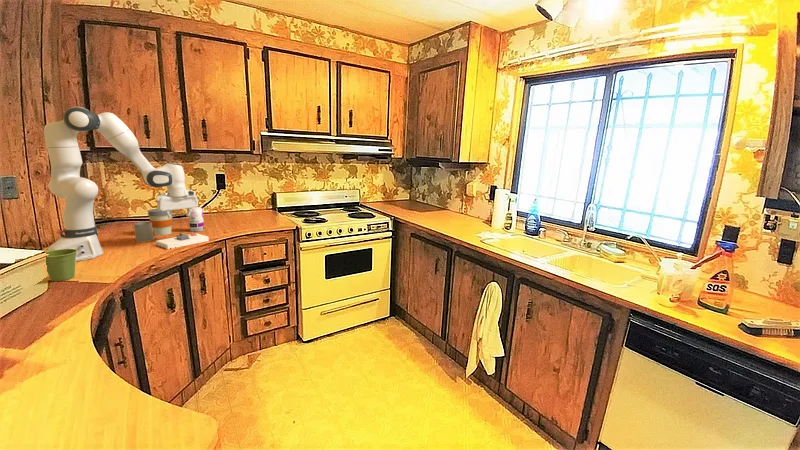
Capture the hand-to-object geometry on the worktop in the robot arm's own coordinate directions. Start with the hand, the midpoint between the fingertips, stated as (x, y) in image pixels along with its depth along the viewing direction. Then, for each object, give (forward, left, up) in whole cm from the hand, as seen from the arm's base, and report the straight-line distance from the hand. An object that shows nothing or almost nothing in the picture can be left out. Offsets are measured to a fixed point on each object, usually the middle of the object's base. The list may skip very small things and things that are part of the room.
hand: (179, 217), depth 200 cm
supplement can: (+20, +22, -15) cm, 33 cm away
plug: (0, -1, -15) cm, 15 cm away
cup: (-10, +22, -15) cm, 29 cm away
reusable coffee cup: (+3, +30, -15) cm, 34 cm away
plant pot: (-56, -19, -15) cm, 61 cm away
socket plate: (0, -1, -15) cm, 15 cm away
